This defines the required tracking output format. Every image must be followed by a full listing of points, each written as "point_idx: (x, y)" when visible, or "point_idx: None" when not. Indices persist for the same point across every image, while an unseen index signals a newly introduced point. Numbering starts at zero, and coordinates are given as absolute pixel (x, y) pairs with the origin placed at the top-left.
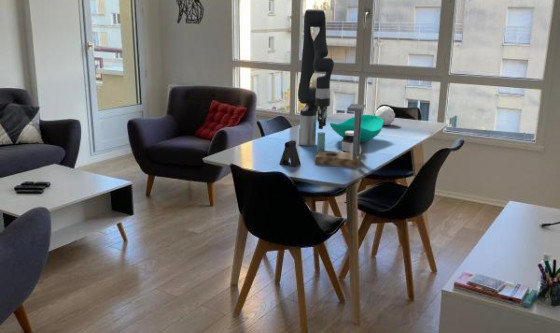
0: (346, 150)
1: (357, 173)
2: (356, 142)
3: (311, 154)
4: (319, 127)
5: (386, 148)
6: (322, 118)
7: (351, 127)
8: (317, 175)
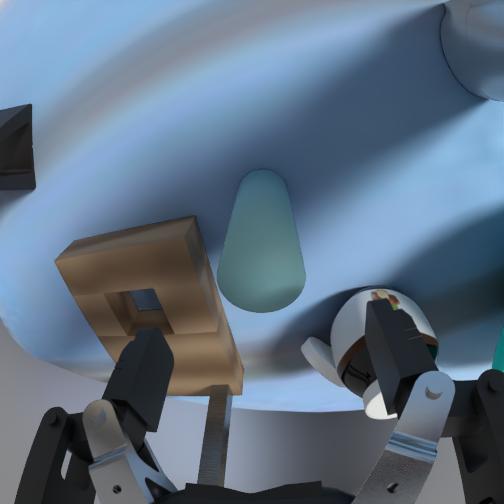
0: (334, 322)
1: (99, 374)
2: None
3: (244, 135)
4: (127, 349)
5: (451, 371)
6: (88, 471)
7: (499, 363)
8: (7, 290)
